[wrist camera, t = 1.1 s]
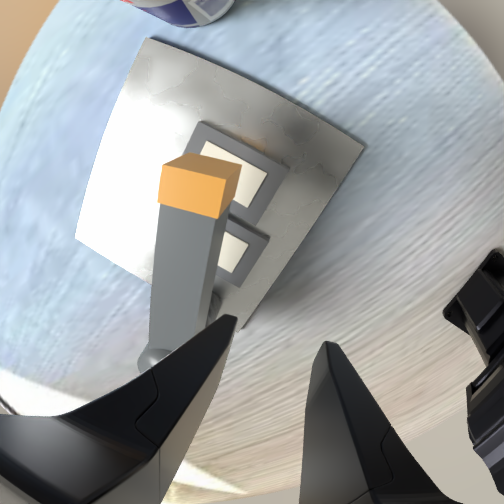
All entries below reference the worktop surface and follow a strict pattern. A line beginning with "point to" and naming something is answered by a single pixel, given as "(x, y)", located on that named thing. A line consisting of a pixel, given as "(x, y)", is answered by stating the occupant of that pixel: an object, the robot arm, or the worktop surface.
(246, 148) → the label tile
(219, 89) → the plate
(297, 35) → the worktop surface
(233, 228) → the label tile
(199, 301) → the swing arm
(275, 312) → the worktop surface
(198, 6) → the energy drink
